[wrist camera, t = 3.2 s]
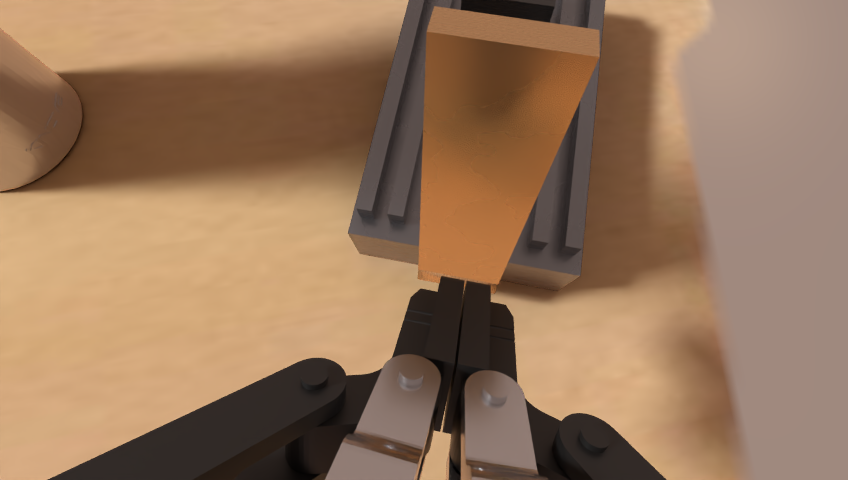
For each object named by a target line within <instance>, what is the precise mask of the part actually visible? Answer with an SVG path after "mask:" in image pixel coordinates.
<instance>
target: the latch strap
mask: <svg viewBox="0 0 848 480" xmlns="http://www.w3.org/2000/svg"><path fill="white" fill-rule="evenodd" d="M599 57H600V44H599V30H596V29H589V28H582V27H576V26H569V25H562V24H555V23H548V22H541V21H534V20H527V19H520V18H513V17H506V16H499V15H492V14H485V13H478V12H471V11H464V10H457V9H450V8H443V7H436V6H434V9H433V12H432V15H431V19H430V22H429V25H428V28H427V33H426V62H425V91H424V120H423V149H422V178H421V207H420V236H419V264H418V270H419V271H418V279H420V280H425V281H431V282H436V283H440V279H441V276H445V277H451V278H456V279H461V280H465V282H464V288H465V285H466V281H472V282H477V283H483V284H488V285H491V293H494V294H495V291H496V288H497V284H499V281H500V279H501V277H502V275H503V272H504V270H505V268H506V266H507V263H508V261H509V259H510V257H511V254H512V252H513V250H514V248H515V246H516V243H517V241H518V239H519V237H520V234H521V232H522V230H523V228H524V225H525V223H526V221H527V219H528V216H529V214H530V212H531V210H532V207H533V205H534V203H535V201H536V198H537V196H538V194H539V192H540V190H541V187H542V185H543V183H544V181H545V178H546V176H547V174H548V172H549V169H550V167H551V165H552V163H553V160H554V158H555V156H556V154H557V151H558V149H559V147H560V145H561V143H562V140H563V138H564V136H565V134H566V131H567V129H568V127H569V125H570V122H571V120H572V118H573V116H574V113H575V111H576V109H577V107H578V104H579V102H580V100H581V98H582V95H583V93H584V91H585V89H586V87H587V84H588V82H589V80H590V78H591V75H592V73H593V71H594V69H595V66H596V64H597V62H598V60H599Z"/></svg>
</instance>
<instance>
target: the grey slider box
mask: <svg viewBox="0 0 848 480" xmlns="http://www.w3.org/2000/svg"><path fill="white" fill-rule="evenodd" d="M434 6H436V7H443V8H450V9H457V10H464V11H471V12H478V13H485V14H492V15H499V16H506V17H513V18H520V19H527V20H534V21H541V22H548V23H555V24H562V25H569V26H576V27H582V28H589V29H596V30H599V44H600V54H601V43H602V31H603V20H604V9H605V0H409V2H408V6H407V10H406V13H405V17H404V21H403V25H402V29H401V32H400V36H399V40H398V44H397V48H396V51H395V55H394V59H393V63H392V67H391V71H390V74H389V78H388V82H387V86H386V90H385V93H384V97H383V101H382V105H381V109H380V112H379V116H378V120H377V124H376V128H375V131H374V135H373V139H372V143H371V147H370V151H369V154H368V158H367V162H366V166H365V170H364V173H363V177H362V181H361V185H360V189H359V192H358V196H357V200H356V204H355V208H354V211H353V215H352V219H351V223H350V227H349V230H348V234H349V236H350V238H351V239H352V241H353V243H354V244H355V246H356V248H357V250H358V251H359V253H360V254H364V255H369V256H375V257H380V258H385V259H391V260H396V261H401V262H407V263H412V264H417V265H418V264H419V236H420V207H421V178H422V149H423V120H424V91H425V62H426V33H427V28H428V25H429V22H430V19H431V15H432V12H433V9H434ZM599 65H600V57H599V60H598V62H597V64H596V66H595V69H594V71H593V73H592V75H591V78H590V80H589V82H588V84H587V87H586V89H585V91H584V93H583V95H582V98H581V100H580V102H579V104H578V107H577V109H576V111H575V113H574V116H573V118H572V120H571V122H570V125H569V127H568V129H567V131H566V134H565V136H564V138H563V140H562V143H561V145H560V147H559V149H558V151H557V154H556V156H555V158H554V160H553V163H552V165H551V167H550V169H549V172H548V174H547V176H546V178H545V181H544V183H543V185H542V187H541V190H540V192H539V194H538V196H537V198H536V201H535V203H534V205H533V207H532V210H531V212H530V214H529V216H528V219H527V221H526V223H525V225H524V228H523V230H522V232H521V234H520V237H519V239H518V241H517V243H516V246H515V248H514V250H513V252H512V254H511V257H510V259H509V261H508V263H507V266H506V268H505V270H504V272H503V275H502V277H501V279H500V280H502V281H508V282H513V283H518V284H524V285H529V286H534V287H540V288H545V289H550V290H556V291H558V290H560V289H561V288H563V287H564V286H566V285H567V284H569V283H571V282H572V281H574V280H575V279H577V278H578V277H580V275H581V264H582V253H583V242H584V231H585V220H586V209H587V198H588V186H589V175H590V164H591V153H592V142H593V131H594V120H595V109H596V98H597V87H598V76H599Z"/></svg>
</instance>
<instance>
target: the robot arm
mask: <svg viewBox="0 0 848 480" xmlns="http://www.w3.org/2000/svg"><path fill="white" fill-rule="evenodd" d="M81 122H82V107H81V102H80V100H79V97H78V95H77V93H76V92H75V90H74V89H73V88H72V87H71V86H70V84H68V83H67V82H66V81H65V80H63V79H62V78H61V77H60V76H58V75H57V74H56V73H55V72H53V71H52V70H51V69H50V68H48V67H47V66H46V65H45V64H43V63H42V62H41V61H40V60H39V59H37V58H36V57H35V56H34V55H32V54H31V53H30V52H29V51H27V50H26V49H25V48H24V47H22V46H21V45H20V44H19V43H18V42H17V41H15V40H14V39H13V38H12V37H10V36H9V35H8V34H7V33H5V32H4V31H3V30H2V29H0V191H5V190H10V189H15V188H18V187H21V186H23V185H26V184H28V183H31V182H33V181H35V180H36V179H38V178H40V177H41V176H43V175H45V174H46V173H48V172H49V171H50V170H51V169H53V168H54V167H55V166H56V165H57V164H58V163H59V162H60V161H61V160H62V159H63V158H64V157H65V156H66V155H67V153H68V152H69V151H70V149H71V147H72V146H73V144H74V143H75V141H76V139H77V136H78V133H79V131H80V128H81ZM464 282H465V280H461V279H456V278H451V277H445V276H441V279H440V283H439V288H438V292H435V291H430V290H425V289H420V290H419V291H418V292H416V293H415V294H414V295H413V296H412V297H411V298H410V302H409V305H408V308H407V311H406V315H405V318H404V321H403V324H402V328H401V331H400V334H399V337H398V341H397V344H396V347H395V350H394V354H393V356H392V358H391V359H390V360H389V361H387V362H386V364H385V365H384V366H383V368H382V369H380V370H378V371H376V372H373V373H370V374H364V375H348V376H346V374H345V372H344V370H343V368H342V367H341V366H340V365H339V364H337V363H336V362H334V361H331V360H329V359H325V358H310V359H306V360H302V361H300V362H297V363H295V364H293V365H291V366H289V367H287V368H285V369H283V370H280V371H278V372H276V373H274V374H272V375H270V376H268V377H266V378H263V379H261V380H259V381H257V382H255V383H253V384H251V385H248V386H246V387H244V388H242V389H240V390H238V391H236V392H234V393H231V394H229V395H227V396H225V397H223V398H221V399H219V400H217V401H214V402H212V403H210V404H208V405H206V406H204V407H202V408H199V409H197V410H195V411H193V412H191V413H189V414H187V415H185V416H182V417H180V418H178V419H176V420H174V421H172V422H170V423H168V424H165V425H163V426H161V427H159V428H157V429H155V430H153V431H150V432H148V433H146V434H144V435H142V436H140V437H138V438H136V439H133V440H131V441H129V442H127V443H125V444H123V445H121V446H119V447H116V448H114V449H112V450H110V451H108V452H106V453H104V454H101V455H99V456H97V457H95V458H93V459H91V460H89V461H87V462H84V463H82V464H80V465H78V466H76V467H74V468H72V469H70V470H67V471H65V472H63V473H61V474H59V475H57V476H55V477H52V478H50V479H48V480H420V478H421V474H422V470H423V466H424V462H425V457H426V454H427V453H428V451H429V449H430V446H431V442H432V437H433V432H434V430H435V431H439V432H440V429H441V425H442V420H443V415H444V411H445V417H444V425H443V432H445V433H449V434H451V443H450V449H449V454H448V458H447V463H446V480H666V479H665V478H664V477H663V476H662V475H661V474H660V473H659V472H658V471H657V470H656V469H655V468H654V467H653V466H652V465H651V464H650V463H649V462H648V461H647V460H645V459H644V458H643V457H642V456H641V455H640V454H639V453H638V452H637V451H636V450H635V449H634V448H633V447H632V446H631V445H630V444H629V443H628V442H627V441H626V440H625V439H624V438H623V437H622V436H621V435H620V434H619V433H618V432H617V431H616V430H615V429H613V428H612V427H611V426H610V425H609V424H607V423H606V422H604V421H603V420H601V419H599V418H597V417H595V416H592V415H588V414H583V413H576V414H571V415H568V416H567V417H565V418H564V419H563V420H562V421H560V420H558V419H556V418H554V417H552V416H549V415H547V414H545V413H543V412H542V411H540V410H538V409H537V408H535V407H534V406H532V405H531V404H530V403H529V402H528V401H527V400H526V399H525V396H524V393H523V391H522V389H521V387H520V386H519V385H518V383H517V371H516V354H515V343H514V341H515V337H514V320H513V316H512V314H511V313H510V311H509V310H508V308H507V306H506V305H503V304H498V303H493V302H490V301H491V285H488V284H483V283H477V282H472V281H466V285H465V289H464ZM463 291H464V294H463ZM446 401H447V402H446ZM445 406H446V410H445Z"/></svg>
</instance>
